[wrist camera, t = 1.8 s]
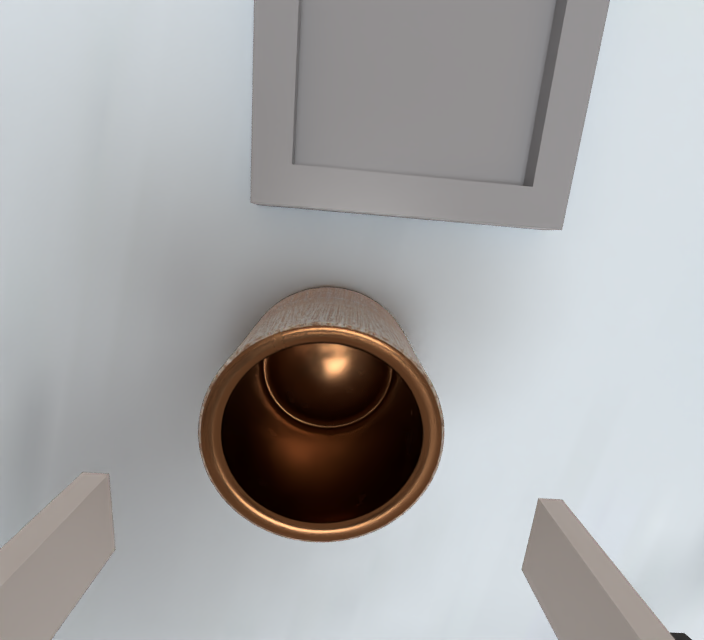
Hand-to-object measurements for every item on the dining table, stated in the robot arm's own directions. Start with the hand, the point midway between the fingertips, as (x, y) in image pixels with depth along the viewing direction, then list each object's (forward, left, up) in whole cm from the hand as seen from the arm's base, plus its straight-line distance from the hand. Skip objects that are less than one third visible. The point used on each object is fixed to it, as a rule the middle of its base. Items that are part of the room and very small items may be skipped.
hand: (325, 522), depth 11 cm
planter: (0, 0, -14) cm, 14 cm away
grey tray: (+4, +20, -14) cm, 25 cm away
